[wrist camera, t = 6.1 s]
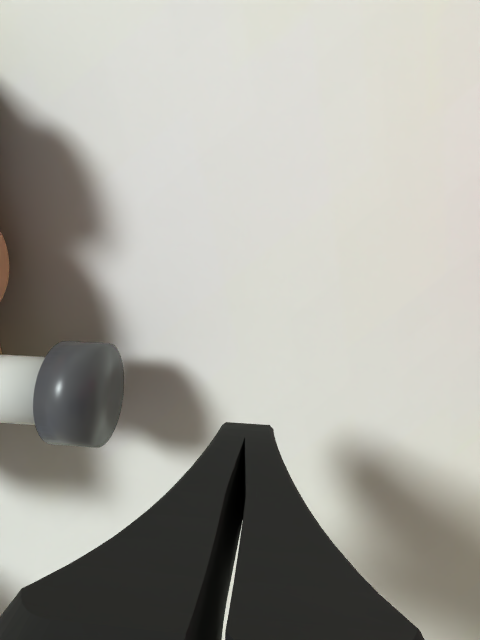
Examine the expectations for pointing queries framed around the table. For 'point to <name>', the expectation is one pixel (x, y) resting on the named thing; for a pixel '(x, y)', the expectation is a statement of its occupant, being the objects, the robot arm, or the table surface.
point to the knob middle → (3, 266)
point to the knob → (65, 392)
